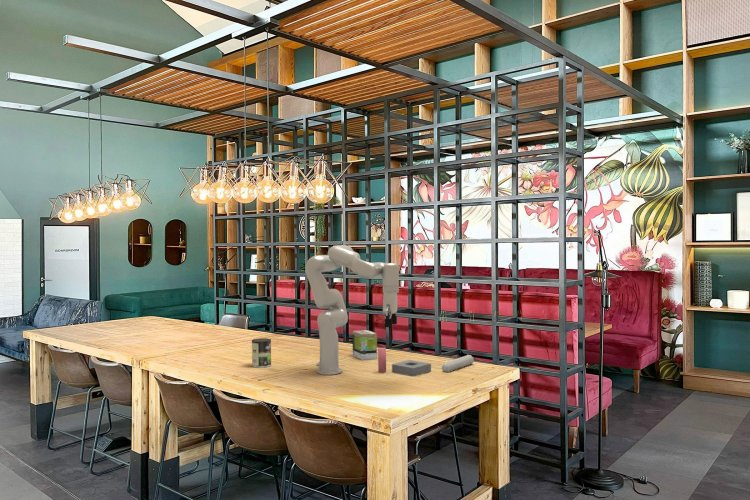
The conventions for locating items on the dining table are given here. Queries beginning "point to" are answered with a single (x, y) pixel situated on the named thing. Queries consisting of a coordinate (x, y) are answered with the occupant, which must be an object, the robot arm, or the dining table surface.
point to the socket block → (411, 367)
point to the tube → (457, 363)
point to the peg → (382, 360)
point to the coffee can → (261, 353)
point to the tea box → (365, 344)
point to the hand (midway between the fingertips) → (390, 325)
